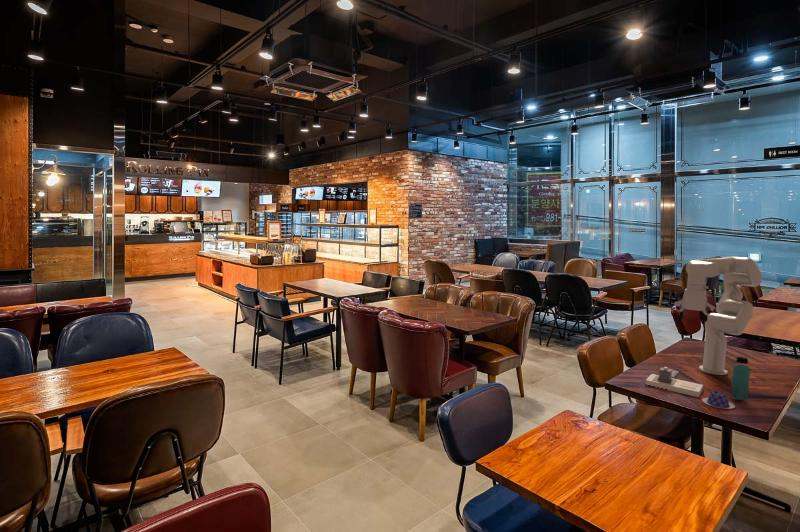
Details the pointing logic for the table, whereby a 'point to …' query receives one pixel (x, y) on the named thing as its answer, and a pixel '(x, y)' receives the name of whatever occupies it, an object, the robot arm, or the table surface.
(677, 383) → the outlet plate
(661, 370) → the charger
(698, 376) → the table surface
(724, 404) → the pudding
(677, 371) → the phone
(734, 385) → the beverage bottle
